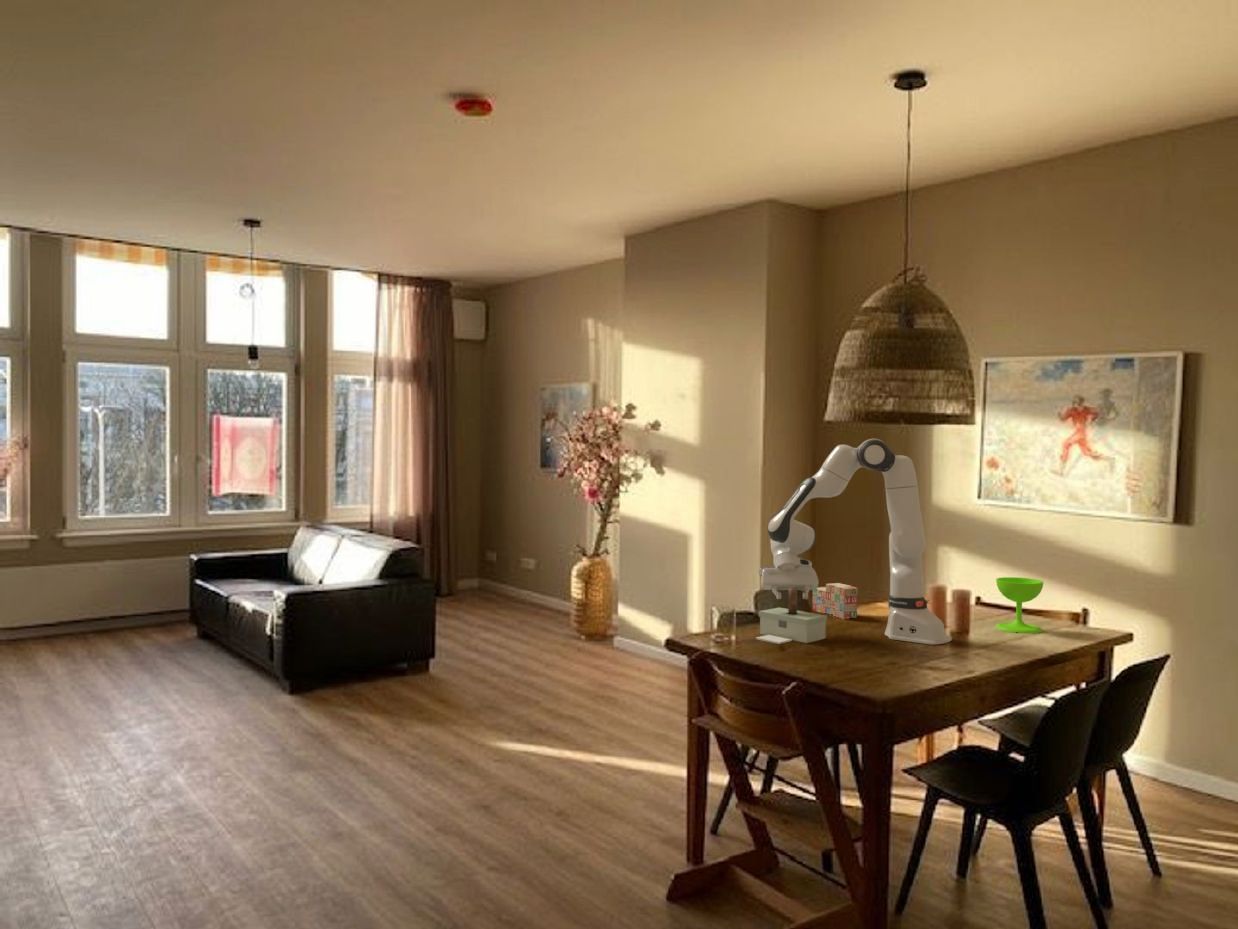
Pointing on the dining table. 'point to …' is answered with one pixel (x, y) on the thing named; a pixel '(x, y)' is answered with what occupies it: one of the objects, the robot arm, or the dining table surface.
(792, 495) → the robot arm
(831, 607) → the stack of blocks
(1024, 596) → the wineglass
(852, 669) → the dining table surface
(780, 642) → the felt mat
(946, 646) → the dining table surface
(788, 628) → the pale green lidded box
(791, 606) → the walnut key
